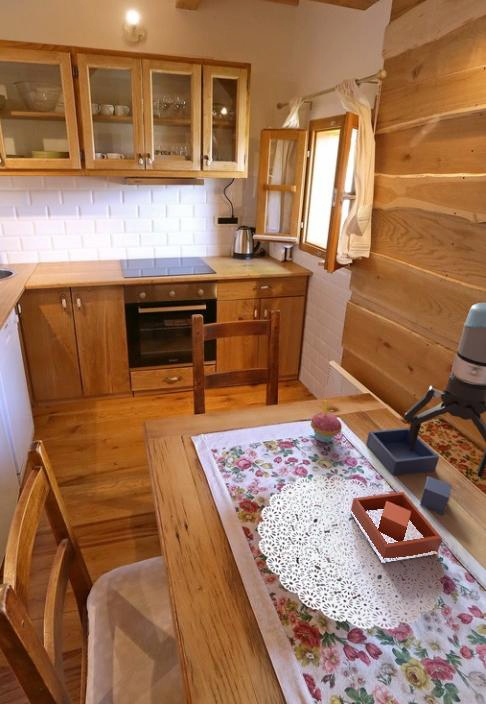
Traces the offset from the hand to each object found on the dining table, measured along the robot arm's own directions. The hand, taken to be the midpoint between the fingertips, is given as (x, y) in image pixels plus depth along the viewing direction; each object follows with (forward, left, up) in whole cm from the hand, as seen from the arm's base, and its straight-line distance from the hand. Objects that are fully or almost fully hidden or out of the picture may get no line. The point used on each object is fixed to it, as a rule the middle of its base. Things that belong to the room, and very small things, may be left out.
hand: (444, 460), depth 91 cm
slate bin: (+16, -2, -12) cm, 20 cm away
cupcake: (+27, +15, -13) cm, 33 cm away
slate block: (0, 0, -12) cm, 12 cm away
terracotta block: (-6, +15, -12) cm, 20 cm away
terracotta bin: (-6, +15, -12) cm, 20 cm away
